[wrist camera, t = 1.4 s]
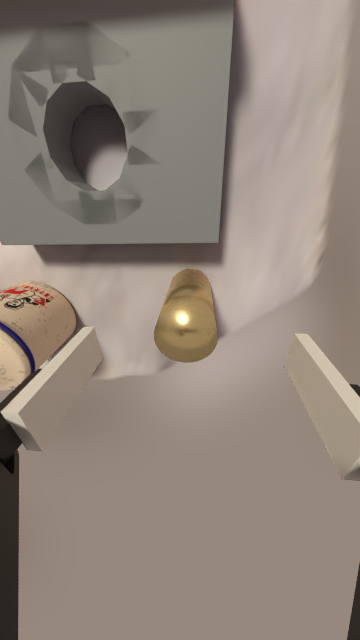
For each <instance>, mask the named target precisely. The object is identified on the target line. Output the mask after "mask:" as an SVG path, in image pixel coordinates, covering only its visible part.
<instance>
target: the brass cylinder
mask: <svg viewBox="0 0 360 640" xmlns="http://www.w3.org/2000/svg"><path fill="white" fill-rule="evenodd" d="M154 339H155V343H156V345H157V347H158V349H159V350H160V351H161V352H162V353H163V354H164V355H165V356H167V357H168V358H170V359H172V360H175V361H179V362H196V361H199V360H202V359H204V358H206V357H207V356H208V355H210V354H211V353H212V352H213V350H214V349H215V347H216V344H217V340H218V334H217V327H216V320H215V313H214V307H213V300H212V293H211V286H210V282H209V279H208V278H207V276H206V275H205V274H204V273H202V272H201V271H199V270H196V269H185V270H182V271H180V272H179V273H177V274H176V275H175V276H174V278H173V280H172V282H171V285H170V288H169V290H168V293H167V296H166V299H165V302H164V304H163V307H162V310H161V313H160V316H159V318H158V321H157V324H156V327H155V330H154Z"/></svg>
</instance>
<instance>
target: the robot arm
mask: <svg viewBox="0 0 360 640" xmlns="http://www.w3.org/2000/svg"><path fill="white" fill-rule="evenodd" d="M102 359H103V358H102V354H101V350H100V347H99V343H98V339H97V336H96V332H95V328H94V327H83V328H82V329H81V330H80V331H79V332H78V333H77V334H76V335H75V336H74V337H73V338H72V339H71V340H70V341H69V342H68V343H67V344H66V345H65V347H64V348H63V349H62V350H61V351H60V352H59V353H58V354H57V355H56V356H55V357H54V358H53V359H52V360H51V361H50V362H49V363H48V364H47V365H46V366H45V367H44V368H43V369H38V370H36V371H35V372H33V373H31V374H30V375H29V376H28V377H27V378H25V379H24V380H23V381H22V382H21V384H19V385H18V386H17V387H16V388H15V390H13V391H12V392H11V393H10V394H9V395H8V396H7V397H6V398H5V399H4V400H3V401H2V402H1V403H0V640H18V553H19V547H18V546H19V544H18V543H19V538H18V537H19V535H18V533H19V453H18V450H17V449H18V447H19V446H20V445H21V443H23V445H24V446H25V448H26V449H27V450H34V451H43V449H44V448H45V446H46V445H47V443H48V442H49V440H50V439H51V437H52V436H53V434H54V432H55V431H56V429H57V428H58V426H59V425H60V423H61V422H62V420H63V419H64V417H65V416H66V414H67V413H68V411H69V410H70V407H71V406H72V405H73V403H74V402H75V400H76V399H77V397H78V396H79V394H80V393H81V391H82V389H83V388H84V386H85V385H86V383H87V382H88V380H89V379H90V377H91V376H92V374H93V373H94V371H95V370H96V368H97V366H98V365H99V363H100V362H101V360H102ZM284 367H285V369H286V371H287V373H288V375H289V377H290V379H291V381H292V383H293V385H294V387H295V389H296V390H297V392H298V395H299V396H300V398H301V400H302V402H303V404H304V406H305V408H306V410H307V412H308V414H309V416H310V418H311V420H312V422H313V424H314V426H315V428H316V429H317V432H318V434H319V435H320V437H321V439H322V441H323V443H324V445H325V447H326V449H327V451H328V453H329V455H330V457H331V459H332V461H333V463H334V465H335V466H336V469H337V471H338V473H339V474H340V476H341V478H342V479H344V480H354V481H355V480H356V481H360V387H359V386H358V385H353V384H348V383H347V381H346V380H345V379H344V378H343V377H342V375H341V374H340V373H339V372H338V370H337V369H336V368H335V367H334V366H333V364H332V363H331V362H330V361H329V360H328V359H327V357H326V356H325V355H324V354H323V353H322V351H321V350H320V349H319V347H318V346H317V345H316V344H315V343H314V342H313V340H312V339H311V338H310V337H309V335H308V334H294V337H293V340H292V343H291V347H290V350H289V353H288V356H287V360H286V363H285V366H284ZM347 640H360V564H359V571H358V576H357V582H356V589H355V595H354V601H353V607H352V613H351V619H350V625H349V631H348V637H347Z"/></svg>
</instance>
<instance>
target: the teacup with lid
mask: <svg viewBox="0 0 360 640" xmlns="http://www.w3.org/2000/svg"><path fill="white" fill-rule="evenodd" d="M75 327H76V317H75V313H74V310H73V308H72V306H71V305H70V303H69V302H68V301H67V299H66V298H65V297H64V296H63V295H62V294H60V293H59V292H58V291H56V290H55V289H53V288H51V287H50V286H47V285H45V284H42V283H38V282H24V283H20V284H18V285H15V286H13V287H11V288H8V289H6V290H4V291H1V292H0V390H12V389H15V388H16V387H17V386H18V385H19V384H21V382H22V381H23V380H24V379H25V378H27V377H28V376H29V375H30V374H31V373H33V372H35V371H36V370H37V369H38V368H39V367H40V366H41V365H42V364H43V363H44V362H45V361H46V360H47V359H48V358H49V357H50V356H51V355H52V354H53V353H54V352H55V351H56V350H57V349H58V348H59V347H60V346H61V345H62V344H63V343H64V342H65V341H66V340H67V339H68V338H69V337H70V336H71V335H72V333H73V332H74V330H75Z"/></svg>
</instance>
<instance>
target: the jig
mask: <svg viewBox="0 0 360 640" xmlns="http://www.w3.org/2000/svg"><path fill="white" fill-rule="evenodd" d="M234 3H235V0H0V241H1V244H2V245H55V244H145V243H218V241H219V226H220V211H221V196H222V181H223V166H224V151H225V137H226V122H227V107H228V92H229V77H230V62H231V47H232V32H233V17H234ZM94 105H108V106H110V107H111V108H113V109H114V110H116V111H117V112H118V114H119V116H120V118H121V120H122V121H123V123H124V126H125V135H126V143H127V152H128V155H127V158H126V161H125V165H124V168H123V171H122V174H121V177H120V178H119V179H118V180H117V181H116V182H115V183H113V184H112V185H111V186H110V187H109V188H108V189H106V190H105V191H98V190H96V189H95V188H93V187H91V186H90V185H88V184H87V183H86V181H85V180H84V178H83V177H82V175H81V174H80V173H79V171H78V170H77V168H76V167H75V164H74V159H73V155H72V150H71V146H70V139H71V134H72V129H73V124H74V120H75V119H76V118H77V117H78V116H79V115H80V114H81V113H82V112H83V111H84V110H85V108H86V107H87V106H94Z"/></svg>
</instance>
